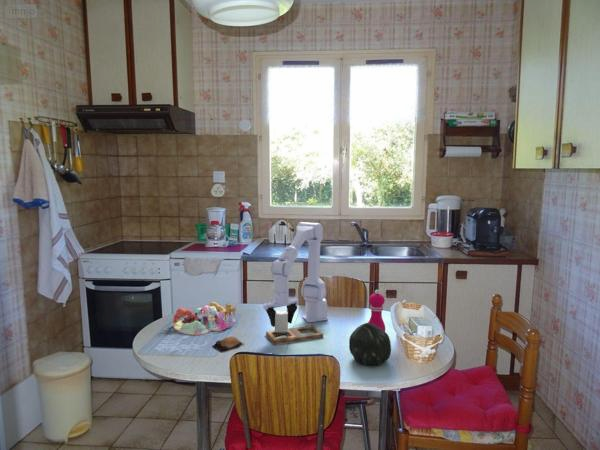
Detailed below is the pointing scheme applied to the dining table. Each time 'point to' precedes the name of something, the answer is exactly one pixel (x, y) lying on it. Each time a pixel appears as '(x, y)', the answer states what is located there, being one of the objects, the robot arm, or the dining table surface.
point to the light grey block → (281, 321)
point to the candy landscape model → (204, 319)
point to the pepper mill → (377, 309)
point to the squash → (370, 344)
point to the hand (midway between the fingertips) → (281, 324)
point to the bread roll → (227, 344)
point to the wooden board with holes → (294, 335)
